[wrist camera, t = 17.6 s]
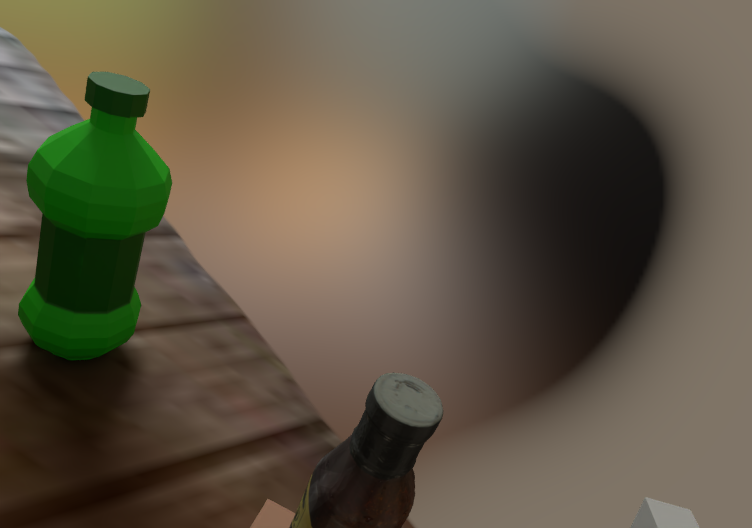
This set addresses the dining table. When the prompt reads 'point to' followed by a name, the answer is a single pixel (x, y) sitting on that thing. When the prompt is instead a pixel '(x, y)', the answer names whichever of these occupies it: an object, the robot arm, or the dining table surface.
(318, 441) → the dining table surface
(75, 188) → the plastic bottle
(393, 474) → the sauce bottle
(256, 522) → the terracotta tile
